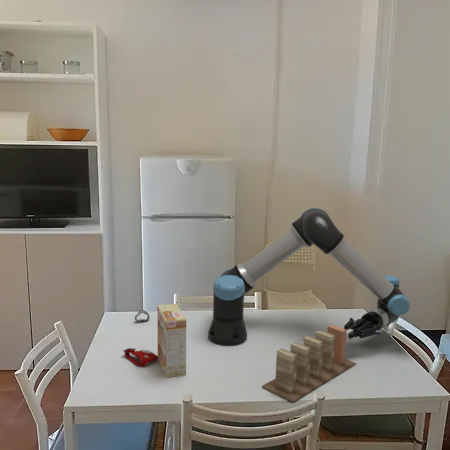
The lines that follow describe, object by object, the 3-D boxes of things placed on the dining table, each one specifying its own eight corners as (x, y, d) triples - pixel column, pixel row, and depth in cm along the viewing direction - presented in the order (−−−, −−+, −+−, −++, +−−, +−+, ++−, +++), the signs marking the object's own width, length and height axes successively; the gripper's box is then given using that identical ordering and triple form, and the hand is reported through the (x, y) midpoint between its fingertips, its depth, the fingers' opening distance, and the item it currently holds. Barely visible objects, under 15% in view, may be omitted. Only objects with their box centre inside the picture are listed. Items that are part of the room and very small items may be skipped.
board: (292, 403, 138) (292, 401, 138) (261, 387, 147) (261, 385, 147) (355, 364, 163) (356, 362, 163) (326, 352, 172) (326, 351, 172)
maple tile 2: (317, 378, 152) (319, 343, 150) (301, 371, 156) (303, 337, 154) (321, 375, 154) (323, 341, 151) (306, 369, 158) (308, 335, 156)
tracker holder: (158, 350, 168) (158, 356, 158) (155, 363, 168) (155, 370, 158) (124, 344, 166) (123, 349, 157) (121, 356, 166) (119, 363, 156)
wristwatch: (150, 321, 196) (150, 310, 195) (136, 324, 193) (136, 313, 192) (147, 319, 199) (147, 307, 198) (133, 321, 196) (133, 310, 195)
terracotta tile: (340, 364, 162) (342, 331, 160) (325, 358, 166) (327, 326, 164) (344, 362, 163) (346, 329, 161) (329, 356, 168) (331, 324, 165)
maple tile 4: (290, 393, 142) (292, 357, 140) (275, 386, 146) (276, 350, 144) (295, 391, 144) (297, 354, 142) (279, 383, 148) (281, 348, 146)
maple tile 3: (304, 385, 147) (306, 350, 145) (288, 378, 151) (290, 343, 149) (308, 383, 149) (310, 347, 147) (293, 376, 153) (295, 341, 151)
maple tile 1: (329, 371, 157) (331, 337, 155) (314, 365, 161) (316, 332, 159) (333, 369, 159) (335, 335, 156) (318, 362, 163) (320, 330, 160)
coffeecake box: (156, 357, 165) (156, 304, 161) (176, 355, 167) (177, 302, 163) (164, 378, 151) (165, 320, 147) (186, 375, 153) (187, 318, 149)
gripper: (389, 335, 177) (357, 354, 161) (358, 325, 186) (325, 341, 170) (391, 316, 176) (359, 333, 160) (359, 307, 185) (326, 322, 169)
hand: (341, 337), depth 165 cm, fingers closed
